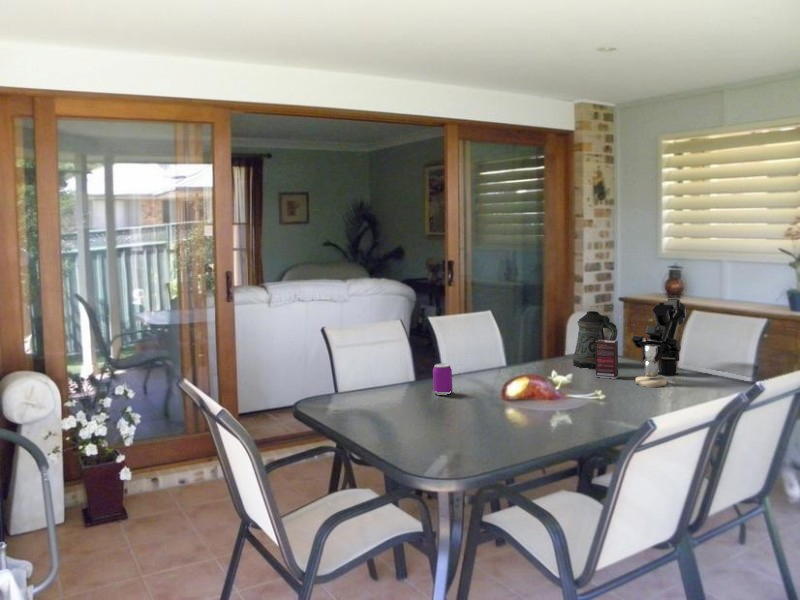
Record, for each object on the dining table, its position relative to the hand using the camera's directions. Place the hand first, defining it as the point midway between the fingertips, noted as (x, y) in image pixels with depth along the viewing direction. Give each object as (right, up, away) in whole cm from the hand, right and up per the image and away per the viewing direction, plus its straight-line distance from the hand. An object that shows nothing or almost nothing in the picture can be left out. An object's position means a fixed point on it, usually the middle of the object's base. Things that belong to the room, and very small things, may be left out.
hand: (649, 360), depth 297 cm
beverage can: (-84, -14, 0) cm, 85 cm away
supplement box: (-13, -9, +16) cm, 22 cm away
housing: (+1, -6, +2) cm, 7 cm away
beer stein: (-12, -6, +40) cm, 42 cm away
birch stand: (+1, -10, +2) cm, 10 cm away
